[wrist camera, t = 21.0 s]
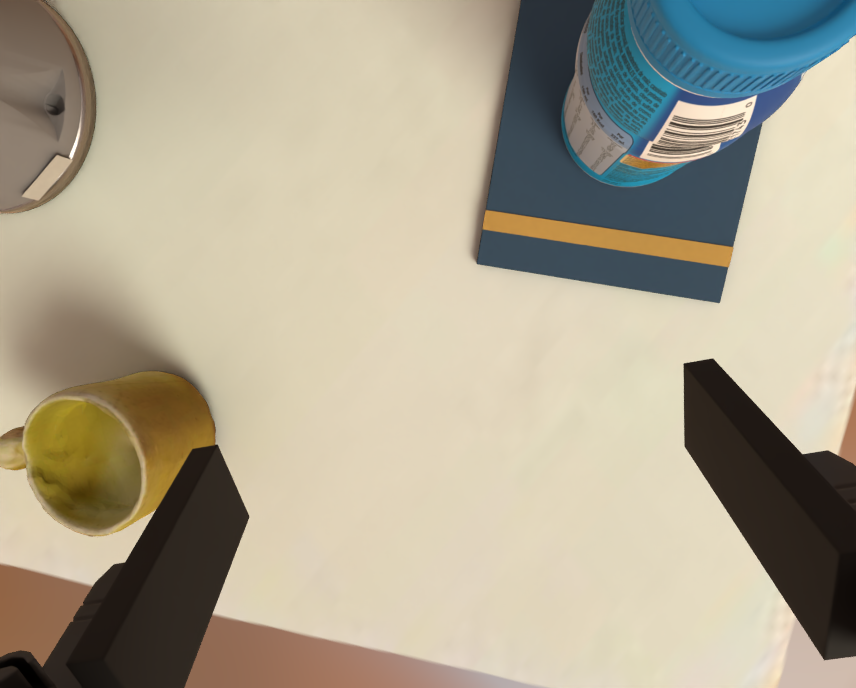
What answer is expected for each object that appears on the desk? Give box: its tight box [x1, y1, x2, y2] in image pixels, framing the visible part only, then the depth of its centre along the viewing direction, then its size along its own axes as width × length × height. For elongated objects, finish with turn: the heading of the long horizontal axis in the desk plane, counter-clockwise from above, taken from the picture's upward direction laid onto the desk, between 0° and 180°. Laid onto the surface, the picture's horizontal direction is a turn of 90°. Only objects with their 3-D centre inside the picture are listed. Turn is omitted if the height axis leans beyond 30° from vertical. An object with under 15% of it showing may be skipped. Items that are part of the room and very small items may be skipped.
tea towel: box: [477, 0, 762, 303], centre depth 35 cm, size 20×15×1 cm
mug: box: [0, 371, 216, 536], centre depth 39 cm, size 12×10×10 cm
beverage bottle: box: [561, 0, 856, 187], centre depth 25 cm, size 8×8×20 cm
